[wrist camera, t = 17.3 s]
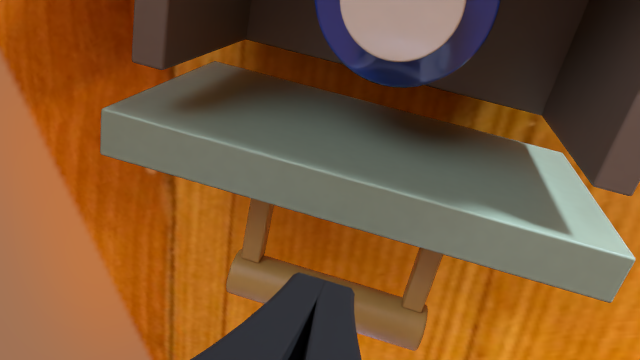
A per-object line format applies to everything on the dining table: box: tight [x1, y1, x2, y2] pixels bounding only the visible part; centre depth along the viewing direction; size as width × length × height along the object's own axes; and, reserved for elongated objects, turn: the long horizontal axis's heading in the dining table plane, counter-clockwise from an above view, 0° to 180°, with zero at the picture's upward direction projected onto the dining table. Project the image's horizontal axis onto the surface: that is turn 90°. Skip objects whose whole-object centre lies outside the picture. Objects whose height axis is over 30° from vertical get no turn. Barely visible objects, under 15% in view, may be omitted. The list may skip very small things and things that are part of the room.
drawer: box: [100, 0, 640, 350], centre depth 13 cm, size 17×12×7 cm
